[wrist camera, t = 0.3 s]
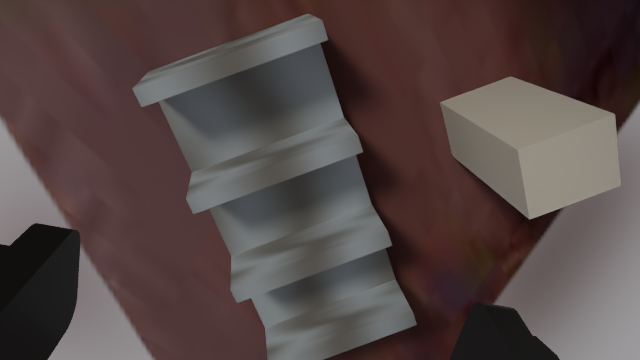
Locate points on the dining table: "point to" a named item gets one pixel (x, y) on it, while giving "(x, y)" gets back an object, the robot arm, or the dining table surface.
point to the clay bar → (533, 144)
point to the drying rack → (284, 188)
